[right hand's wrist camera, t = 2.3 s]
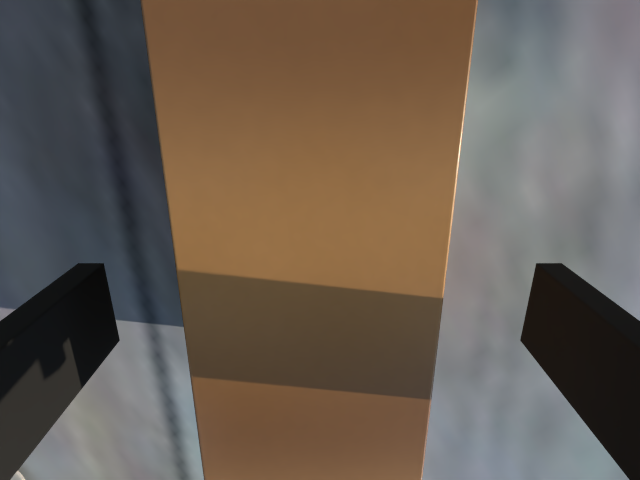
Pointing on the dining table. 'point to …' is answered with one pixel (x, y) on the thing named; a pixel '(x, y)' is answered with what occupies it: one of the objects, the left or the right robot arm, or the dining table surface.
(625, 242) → the dining table surface
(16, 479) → the fork
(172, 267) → the dining table surface
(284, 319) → the bar
